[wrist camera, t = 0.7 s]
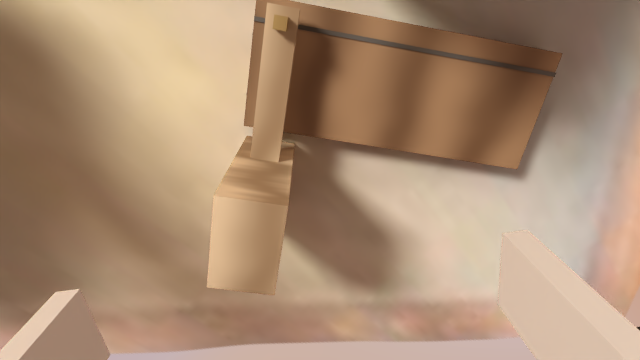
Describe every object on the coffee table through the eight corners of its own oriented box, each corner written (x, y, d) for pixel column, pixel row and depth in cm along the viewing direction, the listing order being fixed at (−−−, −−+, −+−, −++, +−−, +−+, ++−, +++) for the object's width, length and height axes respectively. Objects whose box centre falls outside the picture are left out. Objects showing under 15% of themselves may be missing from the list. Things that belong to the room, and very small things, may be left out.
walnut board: (248, 118, 30) (243, 125, 28) (261, -3, 27) (256, -6, 25) (502, 159, 32) (517, 169, 30) (542, 51, 29) (563, 53, 27)
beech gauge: (240, 200, 33) (206, 287, 22) (260, 4, 27) (229, -13, 16) (284, 206, 33) (274, 295, 22) (314, 15, 28) (320, 4, 16)
